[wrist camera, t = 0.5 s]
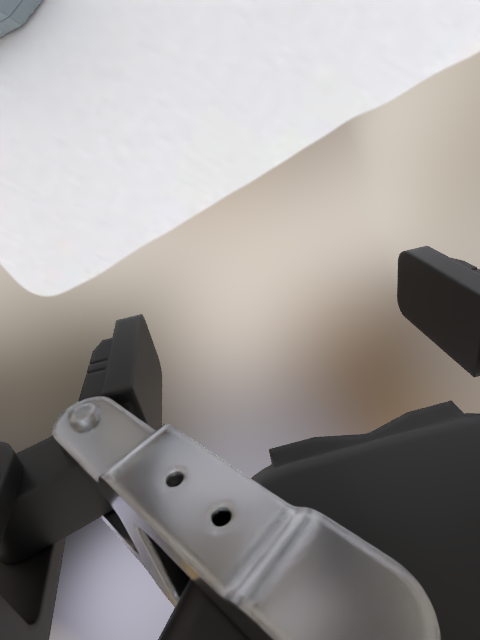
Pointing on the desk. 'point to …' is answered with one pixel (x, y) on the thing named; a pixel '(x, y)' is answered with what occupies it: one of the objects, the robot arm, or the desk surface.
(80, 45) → the desk surface
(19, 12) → the bowl
